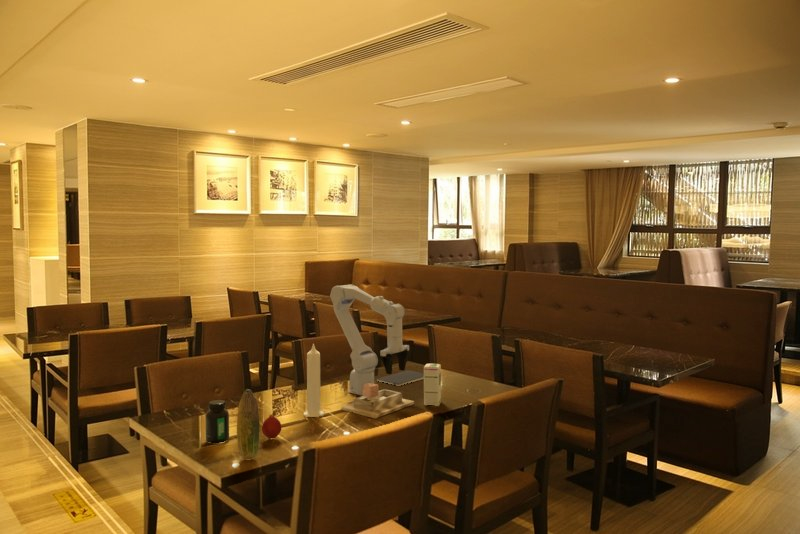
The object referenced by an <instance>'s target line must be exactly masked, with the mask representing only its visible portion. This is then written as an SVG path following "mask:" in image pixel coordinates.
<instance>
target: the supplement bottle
mask: <svg viewBox="0 0 800 534" xmlns="http://www.w3.org/2000/svg"><path fill="white" fill-rule="evenodd" d="M207 408H208V410H207V412H205V417H204V419H205V442H206V441H207V442H211V443H219V442H224V441H226V440H228V439H229V440H230V413H229V411H228V409H226V400H223V399H216V400H215V399H213V400H211V401H208V407H207ZM229 440H228V441H229ZM207 442H206V443H207Z"/></svg>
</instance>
